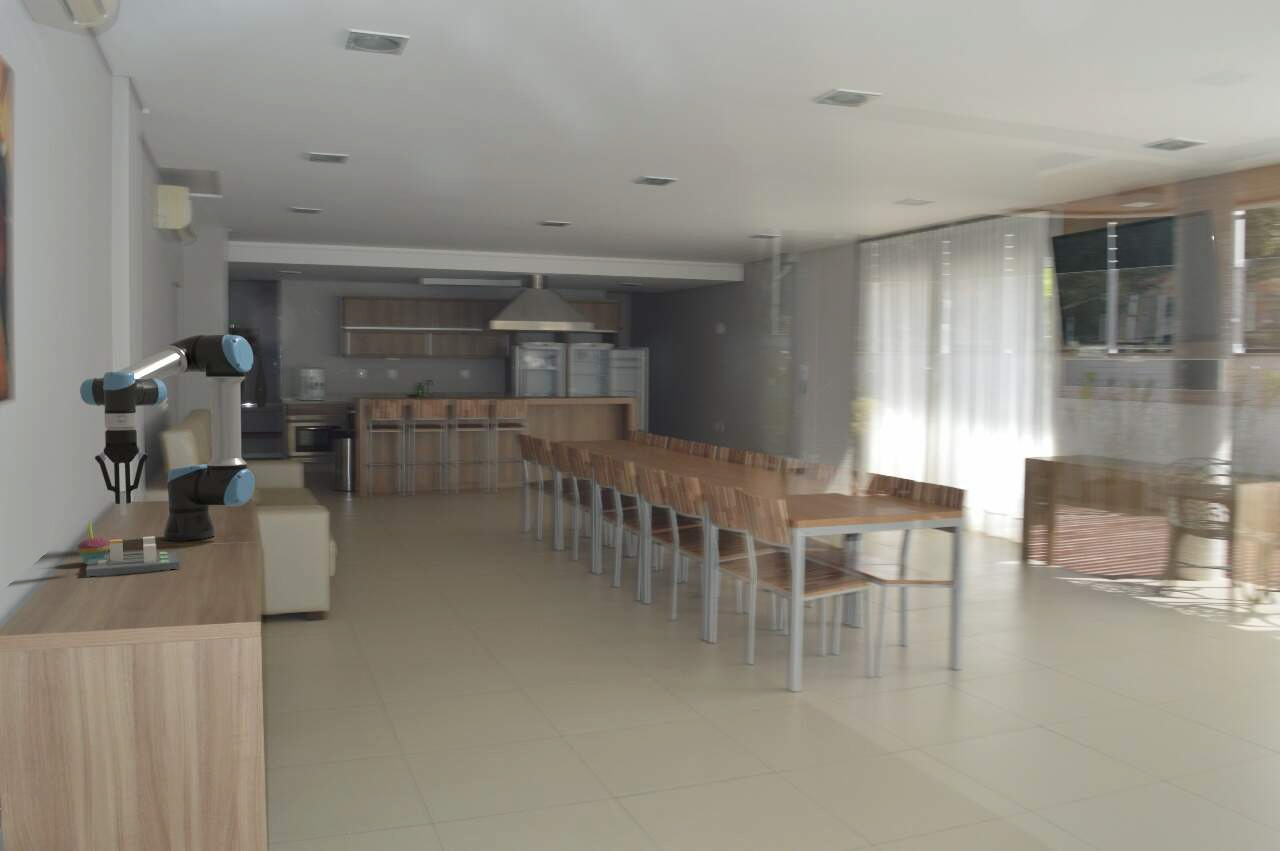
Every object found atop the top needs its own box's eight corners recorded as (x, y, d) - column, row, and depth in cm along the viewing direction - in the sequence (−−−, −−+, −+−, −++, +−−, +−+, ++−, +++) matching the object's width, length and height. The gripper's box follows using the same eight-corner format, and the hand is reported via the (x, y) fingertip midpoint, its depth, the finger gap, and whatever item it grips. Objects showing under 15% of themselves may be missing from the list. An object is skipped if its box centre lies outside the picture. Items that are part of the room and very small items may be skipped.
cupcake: (70, 564, 273) (69, 521, 272) (99, 559, 280) (98, 517, 279) (90, 567, 269) (88, 524, 268) (119, 562, 276) (117, 519, 275)
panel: (89, 565, 271) (88, 540, 271) (176, 558, 281) (176, 534, 281) (86, 578, 255) (85, 551, 255) (179, 569, 265) (178, 544, 265)
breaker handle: (110, 560, 267) (109, 539, 267) (123, 559, 268) (122, 538, 268) (110, 562, 264) (109, 541, 264) (122, 561, 266) (122, 540, 265)
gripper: (92, 430, 259) (95, 519, 260) (148, 429, 265) (150, 515, 266) (93, 428, 265) (96, 515, 267) (147, 427, 271) (150, 512, 273)
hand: (123, 515), depth 266 cm, fingers closed
